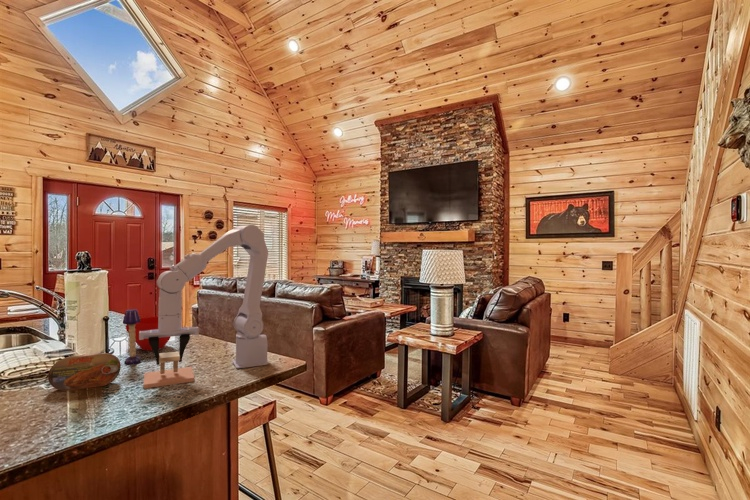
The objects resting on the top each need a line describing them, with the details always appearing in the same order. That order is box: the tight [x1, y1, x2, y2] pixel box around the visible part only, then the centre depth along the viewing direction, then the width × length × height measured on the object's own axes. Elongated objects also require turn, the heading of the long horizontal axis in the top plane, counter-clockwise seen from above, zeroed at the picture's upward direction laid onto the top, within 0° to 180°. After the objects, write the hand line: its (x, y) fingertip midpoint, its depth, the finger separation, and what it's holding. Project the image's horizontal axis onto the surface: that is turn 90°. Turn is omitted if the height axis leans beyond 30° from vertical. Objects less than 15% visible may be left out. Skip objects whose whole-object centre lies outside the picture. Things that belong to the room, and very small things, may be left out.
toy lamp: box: [122, 308, 142, 366], centre depth 118 cm, size 5×5×17 cm
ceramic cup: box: [125, 316, 171, 351], centre depth 134 cm, size 13×17×10 cm
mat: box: [142, 366, 195, 389], centre depth 105 cm, size 12×10×1 cm
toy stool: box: [159, 350, 180, 374], centre depth 105 cm, size 5×5×4 cm
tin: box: [47, 352, 122, 392], centre depth 98 cm, size 15×3×8 cm, turn 117°
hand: (169, 362), depth 105 cm, fingers closed on toy stool, 5 cm apart
